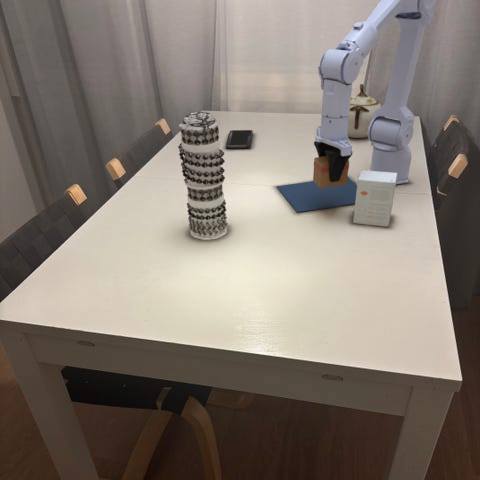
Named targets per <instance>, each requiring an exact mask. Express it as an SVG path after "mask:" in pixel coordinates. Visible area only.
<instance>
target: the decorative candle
mask: <svg viewBox="0 0 480 480" xmlns="http://www.w3.org/2000/svg"><path fill="white" fill-rule="evenodd" d="M220 125H221V122H220V120H219V119H216V117H215V116H214V115H213V113H210V112H207V111H196V112H191V113H187V114H186V115H185V116H184V117H183V119H182V121H181V122H180V123H179V124H178V126H179V128H180V136H181V139H180V143H179V145H178V146H177V149H179V150H178V151H179V153H178V155H179V159H180V160H181V161H182V162H181V163H180V166H181V173H182V176H183V177H184V179H183V182H184V185H185V186H186V189H187V202H186V208H187V214H188V217H187V218H188V227H189V232H190V235H191V236H192V237H193V238H194V239H199V240H201V241H203V240H204V241H212V240H217V239H219V238H222V237H223V236H224V235H226V234H227V232H228V227H227V226H228V222H227V219H228V217H227V213H226V212H227V208H226V205H227V201H226V200H225V193H224V190H223V188H224V187H223V184H224V182H225V179H226V177H225V175H224V173H225V168H224V167H223V166H222V165H224V164H225V162H226V161H225V159H224V158H223V157H224V155H225V152H224V151H223V150H222V149H221V137H220V134H219V133H220V130H219V126H220Z"/></svg>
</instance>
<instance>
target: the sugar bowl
mask: <svg viewBox="0 0 480 480" xmlns="http://www.w3.org/2000/svg"><path fill="white" fill-rule="evenodd" d="M364 86H365V85H364V84H363V83H360V84H359V90H360V91H359V93H358V94H356V95H351V101H350V111H349V121H348V131H347V135H348V138H353V139H364V138H365V139H366V138H368V127H369V125H370V123H371V121H372V118H373V115H374V111H376V110H377V109H378V108H380V107H382V106H383V105H382V104H381V103H380V101H379V100H378V99H376V98H374V97H372V96H370V95H367V94H366V93H365V90H364V89H365V87H364Z"/></svg>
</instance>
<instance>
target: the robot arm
mask: <svg viewBox="0 0 480 480" xmlns="http://www.w3.org/2000/svg"><path fill="white" fill-rule="evenodd" d="M437 1H438V0H380V1H379V2H378V3H377V5H376V6H375V7H374V9H373V10H372V12H371V13H370V14H369V16H368V17H367V19H366V20H365V21H364V20H362V21H359V22H355V23H354V25H353V27H352V28H351V29H350V30H349V32H348V33H347V34H346V35H345V36H344V37H343V39H342V40H341V41H340V42H339V43H338V44H337V46H336V47H335V48H330V49H327V51H325V53H323V54H322V56H321V58H320V62H319V66H318V68H317V73H318V77H319V79H320V88H321V90H322V101H321V118H320V119H321V120H320V125H318V126H316V134H315V137H314V142H313V145H314V147H315V150H316V152H317V157H324V156H327V159H328V164H329V178H330V181H331V182H336V181H339V180H340V178H341V175H342V172H343V170H344V167H345V165H346V163H347V161H348V160H349V159H350V158H351V157H352V156H353V145H352V144H351V143H350V139H349V138H350V137H348V135H347V131H348V121H349V111H350V101H351V97H352V90H353V83H354V82H355V81H356V80H357V79H358V76H359V74H360V71H361V68H362V66H363V64H364V60H365V59H366V58H367V57H368V55H369V54H370V53H371V52H372V50H373V49H374V48H375V47H376V46H377V44H378V41H379V34H380V33H381V32H382V31H383V30H384V29H385V28H386V26H387V25H389V24H390V23H391V21H392V20H393V21H395V22H396V23H397V24H398V26H399V28H400V33H399V37H398V43H397V46H396V50H395V56H394V60H393V63H392V64H393V65H392V70H391V73H390V78H389V83H388V88H387V91H386V96H385V101H384V104H383V105H381V106H382V107H380V108H378V109H377V110H376V111H374V115H373V118H372V121H371V123H370V125H369V127H368V137H367V138H368V140H369V141H370V146H371V147H372V152H371V158H370V159H371V160H370V166H369V171H379V172H391V173H397V180H396V185H400V184H407V183H409V181H410V180H409V179H408V178H409V173H410V167H411V162H412V150H411V147H410V146H409V144H410V142H412V141H411V140H412V139H413V135H414V125H415V124H414V123H415V115H414V113H412V111H411V110H410V109H409V107H408V106H407V104H408V100H409V96H410V92H411V89H412V84H413V81H414V80H413V79H414V75H415V71H416V67H417V63H418V59H419V55H420V51H421V48H422V42H423V39H424V35H425V30H426V26H428V25H430V24H431V23H432V21H433V17H434V14H435V10H436V5H437ZM349 161H350V160H349Z"/></svg>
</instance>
